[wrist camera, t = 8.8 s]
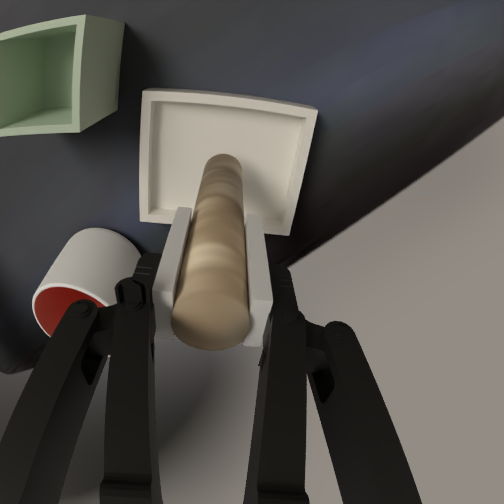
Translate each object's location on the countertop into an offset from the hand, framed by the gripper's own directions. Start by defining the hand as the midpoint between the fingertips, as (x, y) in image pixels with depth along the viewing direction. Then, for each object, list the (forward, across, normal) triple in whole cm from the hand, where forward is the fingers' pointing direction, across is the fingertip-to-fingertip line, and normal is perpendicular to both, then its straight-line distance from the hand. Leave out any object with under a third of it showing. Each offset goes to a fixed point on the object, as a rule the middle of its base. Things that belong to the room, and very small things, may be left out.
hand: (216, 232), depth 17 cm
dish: (+13, 0, 0) cm, 13 cm away
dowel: (+9, 0, 0) cm, 9 cm away
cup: (+13, -12, -13) cm, 22 cm away
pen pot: (+13, -14, +8) cm, 21 cm away
